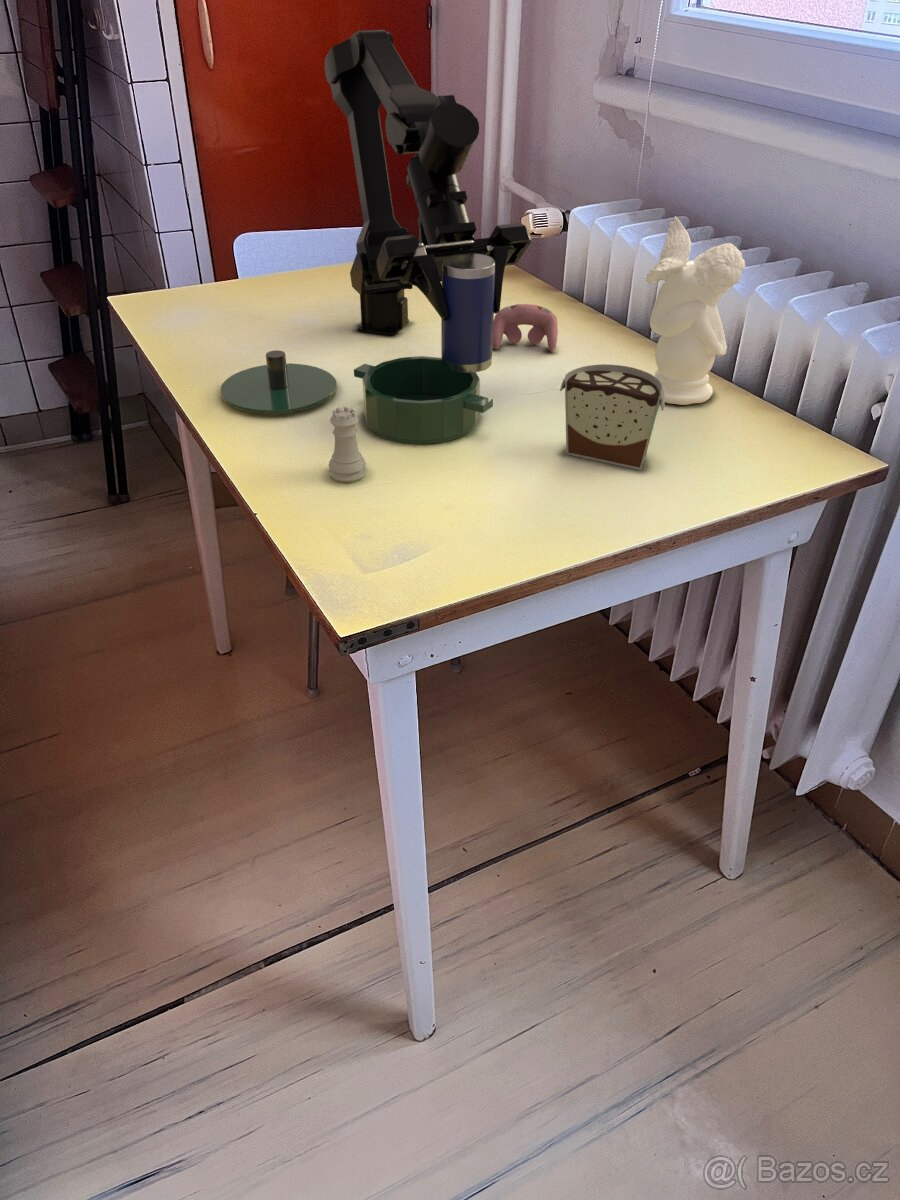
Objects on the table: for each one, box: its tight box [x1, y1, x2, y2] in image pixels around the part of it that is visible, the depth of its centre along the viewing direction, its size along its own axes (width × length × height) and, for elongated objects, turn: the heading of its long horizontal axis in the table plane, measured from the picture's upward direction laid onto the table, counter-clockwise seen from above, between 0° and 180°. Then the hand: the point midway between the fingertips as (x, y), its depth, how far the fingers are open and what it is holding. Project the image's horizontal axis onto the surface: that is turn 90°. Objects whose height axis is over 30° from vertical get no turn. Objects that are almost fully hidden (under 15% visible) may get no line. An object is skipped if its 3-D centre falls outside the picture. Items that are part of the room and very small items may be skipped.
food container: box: [559, 363, 666, 471], centre depth 111 cm, size 12×6×10 cm, turn 65°
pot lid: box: [220, 349, 338, 415], centre depth 126 cm, size 16×16×6 cm
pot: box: [353, 355, 494, 445], centre depth 120 cm, size 15×20×6 cm
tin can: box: [440, 253, 495, 373], centre depth 115 cm, size 6×6×13 cm
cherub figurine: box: [645, 215, 746, 406], centre depth 121 cm, size 12×12×22 cm
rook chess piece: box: [328, 406, 368, 484], centre depth 107 cm, size 4×4×8 cm
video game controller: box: [493, 303, 559, 353], centre depth 141 cm, size 10×5×7 cm, turn 84°
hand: (472, 315), depth 114 cm, fingers closed on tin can, 6 cm apart
